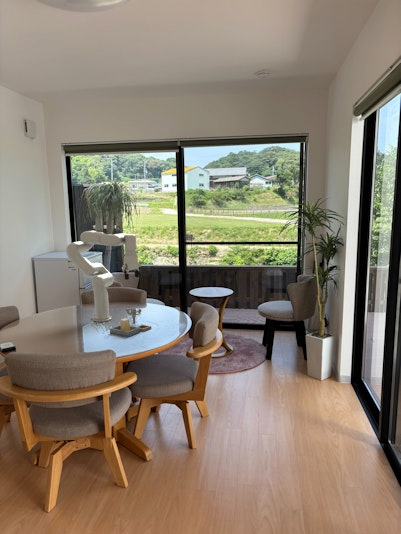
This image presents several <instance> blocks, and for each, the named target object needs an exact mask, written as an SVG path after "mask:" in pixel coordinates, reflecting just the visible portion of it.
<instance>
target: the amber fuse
mask: <svg viewBox="0 0 401 534" xmlns="http://www.w3.org/2000/svg"><path fill="white" fill-rule="evenodd" d="M119 322H120V324H119V325H120V326H121V330H122V331H127V332H128V331H130V326H131V324H130V318H126V317H125V318H121V319H120V320H119Z"/></svg>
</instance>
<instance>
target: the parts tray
mask: <svg viewBox="0 0 401 534" xmlns="http://www.w3.org/2000/svg"><path fill="white" fill-rule="evenodd" d="M139 333H141V331H140V328H139V327H137V326H133V325H130V331H128V332H127V331H122V330H121V326H120V324H119V325H116V326H113V327H110V328H109V334H110V335H115V336H120V337H121V336H122V337H125V338H129V337H131V336H134V335H136V334H139Z"/></svg>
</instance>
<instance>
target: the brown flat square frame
mask: <svg viewBox="0 0 401 534" xmlns="http://www.w3.org/2000/svg"><path fill="white" fill-rule="evenodd" d="M136 327H139V328H140V332H142V333H144V332H147V331H150V330H151V329H152V326H151V325H146V324H141V325H138V326H136Z"/></svg>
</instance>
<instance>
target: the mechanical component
mask: <svg viewBox="0 0 401 534" xmlns="http://www.w3.org/2000/svg"><path fill="white" fill-rule="evenodd" d="M125 311H126V314H127V315H128V316H131V317H132V324H133V325H134V324H136V317H137V316H139V315H140V314H141V312H142V309H141V308H138V309H137V308H133V307H132V308H129V307H128V308H126V309H125Z"/></svg>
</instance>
